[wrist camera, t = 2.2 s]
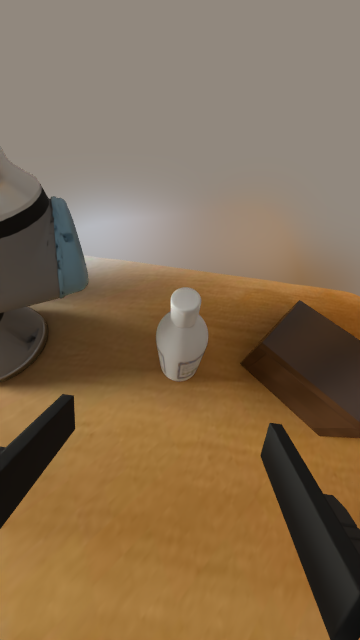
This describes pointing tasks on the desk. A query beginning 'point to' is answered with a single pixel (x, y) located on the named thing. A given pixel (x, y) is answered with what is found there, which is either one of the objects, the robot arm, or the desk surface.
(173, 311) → the bath foam
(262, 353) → the stepped brown block
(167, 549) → the desk surface
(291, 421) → the desk surface
